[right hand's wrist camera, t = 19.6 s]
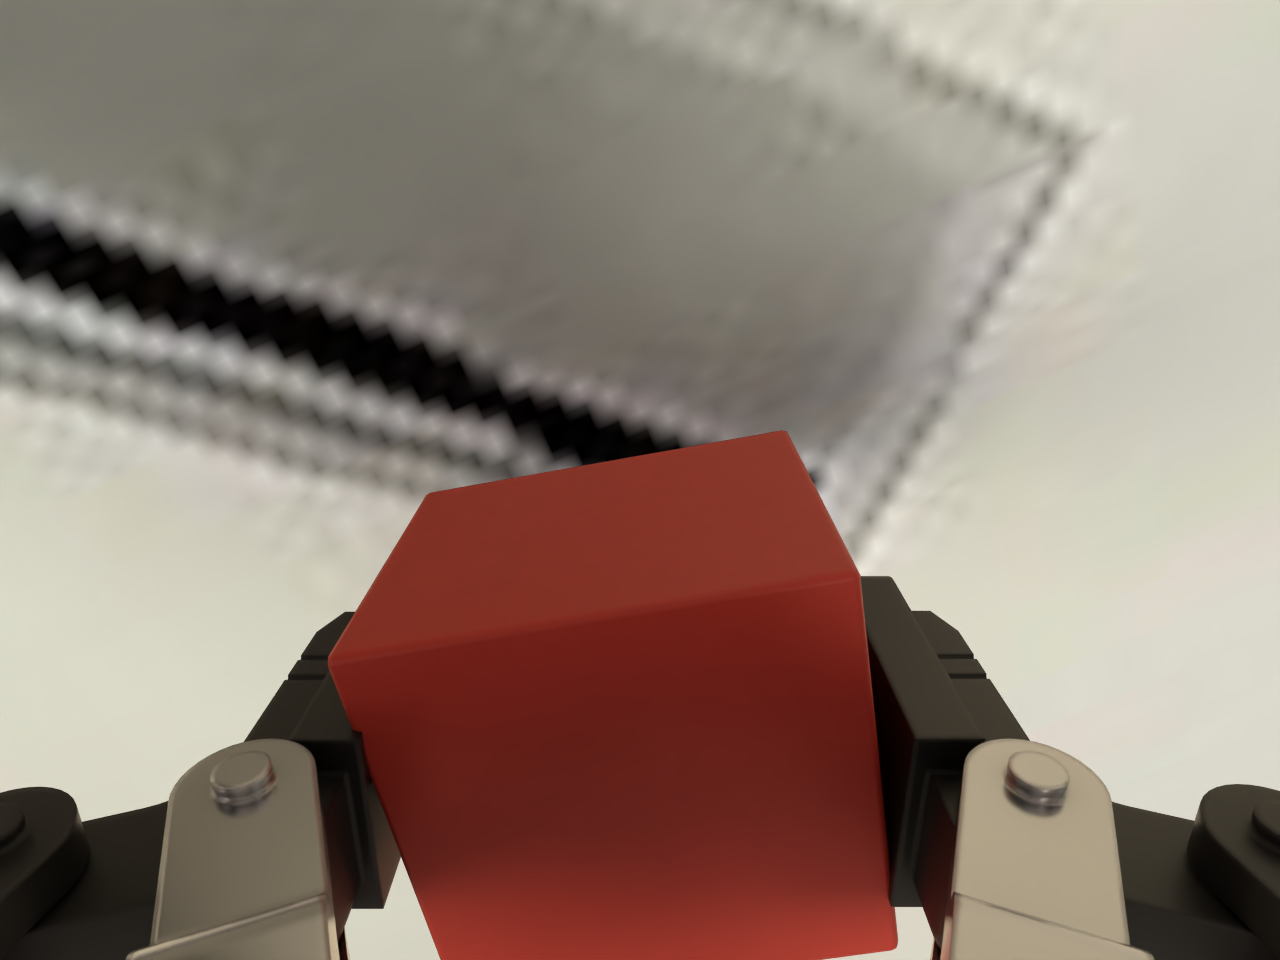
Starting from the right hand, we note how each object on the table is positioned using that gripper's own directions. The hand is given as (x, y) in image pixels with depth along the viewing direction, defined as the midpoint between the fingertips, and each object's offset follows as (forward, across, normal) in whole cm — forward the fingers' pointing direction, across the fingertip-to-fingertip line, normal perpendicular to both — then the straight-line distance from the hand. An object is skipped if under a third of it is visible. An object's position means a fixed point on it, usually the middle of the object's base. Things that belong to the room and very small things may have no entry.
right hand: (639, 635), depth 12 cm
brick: (+1, 0, 0) cm, 1 cm away
